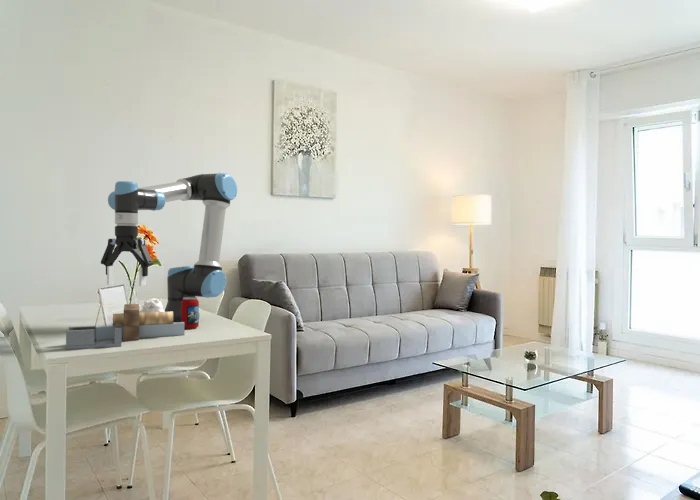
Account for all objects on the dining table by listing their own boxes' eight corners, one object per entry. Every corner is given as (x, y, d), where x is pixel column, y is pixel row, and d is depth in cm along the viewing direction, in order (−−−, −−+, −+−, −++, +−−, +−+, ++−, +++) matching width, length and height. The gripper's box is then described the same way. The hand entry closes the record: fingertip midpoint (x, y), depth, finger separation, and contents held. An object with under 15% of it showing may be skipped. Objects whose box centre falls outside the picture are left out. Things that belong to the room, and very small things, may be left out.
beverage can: (193, 329, 200) (193, 299, 200) (177, 329, 202) (177, 298, 201) (201, 327, 207) (201, 297, 207) (186, 326, 208) (186, 296, 208)
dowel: (172, 321, 191) (172, 309, 190) (173, 324, 187) (173, 313, 186) (113, 324, 183) (113, 312, 183) (112, 328, 179) (112, 315, 179)
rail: (183, 333, 192) (183, 322, 192) (184, 334, 190) (184, 323, 190) (94, 338, 180) (94, 326, 180) (93, 340, 178) (93, 327, 178)
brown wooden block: (138, 331, 195) (138, 303, 195) (139, 340, 179) (139, 309, 179) (124, 332, 193) (124, 304, 193) (123, 341, 177) (123, 310, 177)
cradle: (121, 341, 177) (121, 324, 177) (121, 346, 169) (121, 328, 169) (69, 344, 171) (69, 326, 171) (65, 349, 163) (65, 331, 162)
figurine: (147, 326, 207) (147, 296, 207) (170, 327, 206) (170, 297, 206) (134, 330, 197) (134, 299, 197) (158, 331, 196) (158, 300, 196)
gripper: (89, 224, 182) (89, 284, 183) (149, 225, 175) (149, 287, 176) (105, 225, 189) (105, 282, 190) (163, 225, 182) (163, 285, 183)
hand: (126, 285), depth 183 cm, fingers open, 13 cm apart
